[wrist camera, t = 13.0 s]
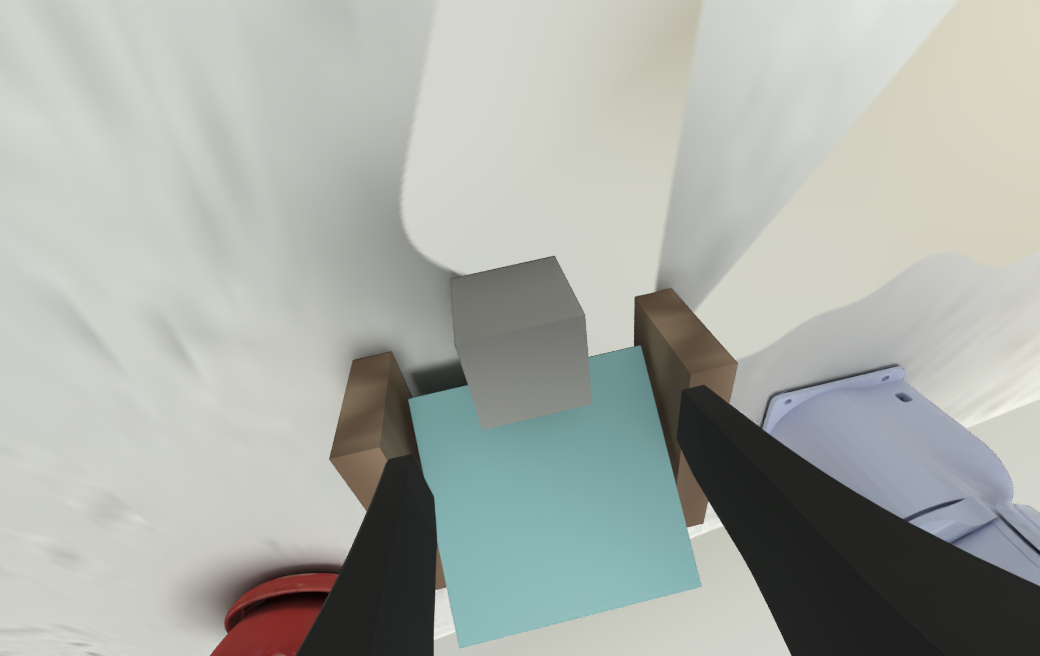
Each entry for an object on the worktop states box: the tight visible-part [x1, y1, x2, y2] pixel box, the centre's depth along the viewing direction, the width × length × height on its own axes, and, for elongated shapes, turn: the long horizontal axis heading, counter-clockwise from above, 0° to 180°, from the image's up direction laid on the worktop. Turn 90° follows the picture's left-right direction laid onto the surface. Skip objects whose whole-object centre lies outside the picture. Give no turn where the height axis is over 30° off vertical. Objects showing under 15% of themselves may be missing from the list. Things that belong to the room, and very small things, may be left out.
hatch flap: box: [408, 346, 702, 648], centre depth 22 cm, size 12×12×3 cm
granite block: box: [450, 256, 592, 430], centre depth 19 cm, size 5×5×5 cm
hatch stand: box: [329, 289, 738, 590], centre depth 24 cm, size 17×15×6 cm
